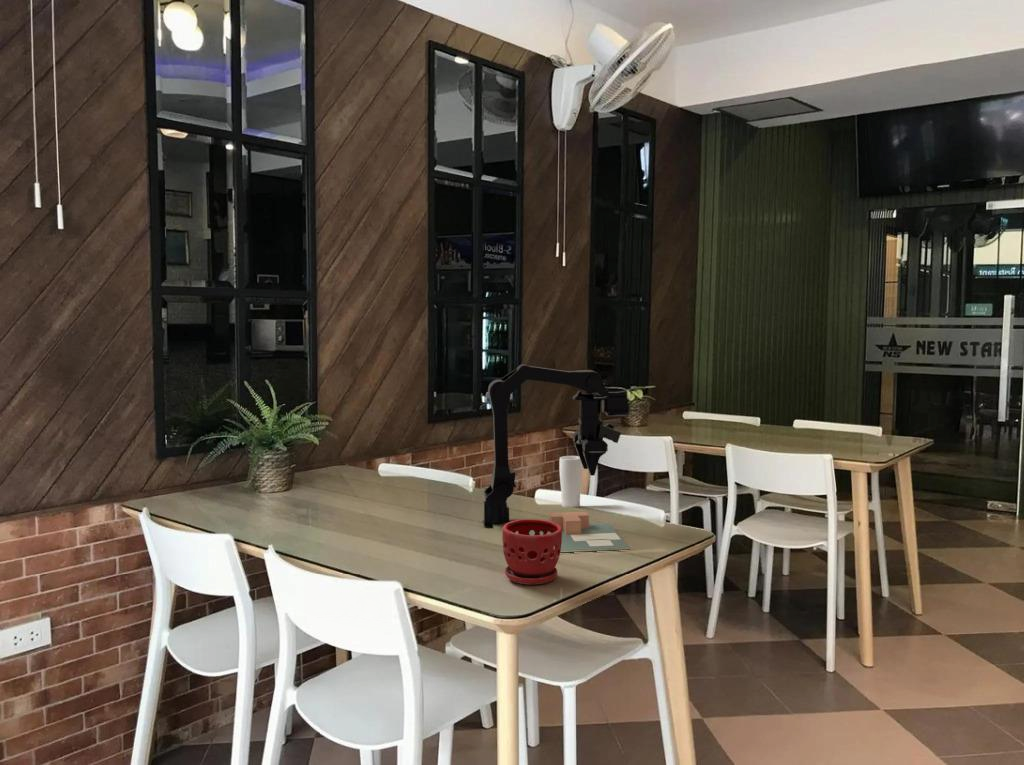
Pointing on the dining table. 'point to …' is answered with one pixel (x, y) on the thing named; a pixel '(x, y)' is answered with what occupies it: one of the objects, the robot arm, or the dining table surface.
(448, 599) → the dining table surface
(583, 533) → the board
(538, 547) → the plant pot
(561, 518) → the salmon notched block
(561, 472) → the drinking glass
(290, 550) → the dining table surface
